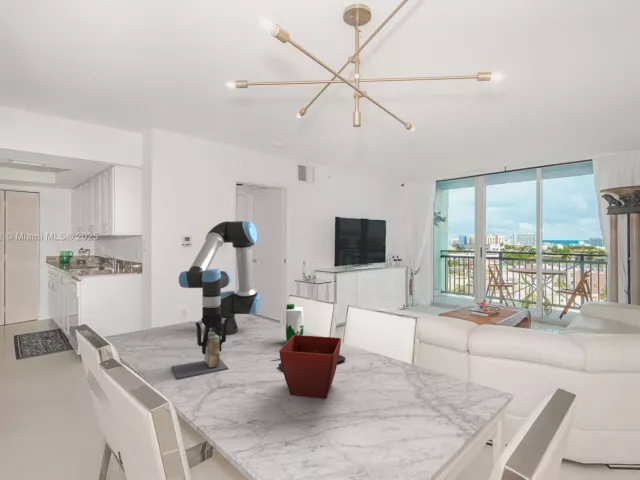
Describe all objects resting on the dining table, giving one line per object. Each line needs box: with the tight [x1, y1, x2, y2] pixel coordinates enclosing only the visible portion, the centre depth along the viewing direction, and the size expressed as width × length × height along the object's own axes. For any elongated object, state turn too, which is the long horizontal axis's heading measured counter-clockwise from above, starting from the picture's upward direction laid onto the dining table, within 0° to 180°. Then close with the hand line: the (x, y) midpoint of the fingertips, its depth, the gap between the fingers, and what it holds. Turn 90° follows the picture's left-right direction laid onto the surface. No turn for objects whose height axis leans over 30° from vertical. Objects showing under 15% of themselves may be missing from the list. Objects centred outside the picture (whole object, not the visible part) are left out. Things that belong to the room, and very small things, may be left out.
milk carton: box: [285, 303, 304, 343], centre depth 180 cm, size 9×9×20 cm
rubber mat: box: [170, 357, 229, 380], centre depth 146 cm, size 20×14×1 cm
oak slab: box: [206, 331, 220, 367], centre depth 148 cm, size 4×9×12 cm, turn 32°
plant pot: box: [278, 334, 342, 400], centre depth 126 cm, size 19×19×17 cm
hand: (211, 360), depth 148 cm, fingers closed on oak slab, 4 cm apart
